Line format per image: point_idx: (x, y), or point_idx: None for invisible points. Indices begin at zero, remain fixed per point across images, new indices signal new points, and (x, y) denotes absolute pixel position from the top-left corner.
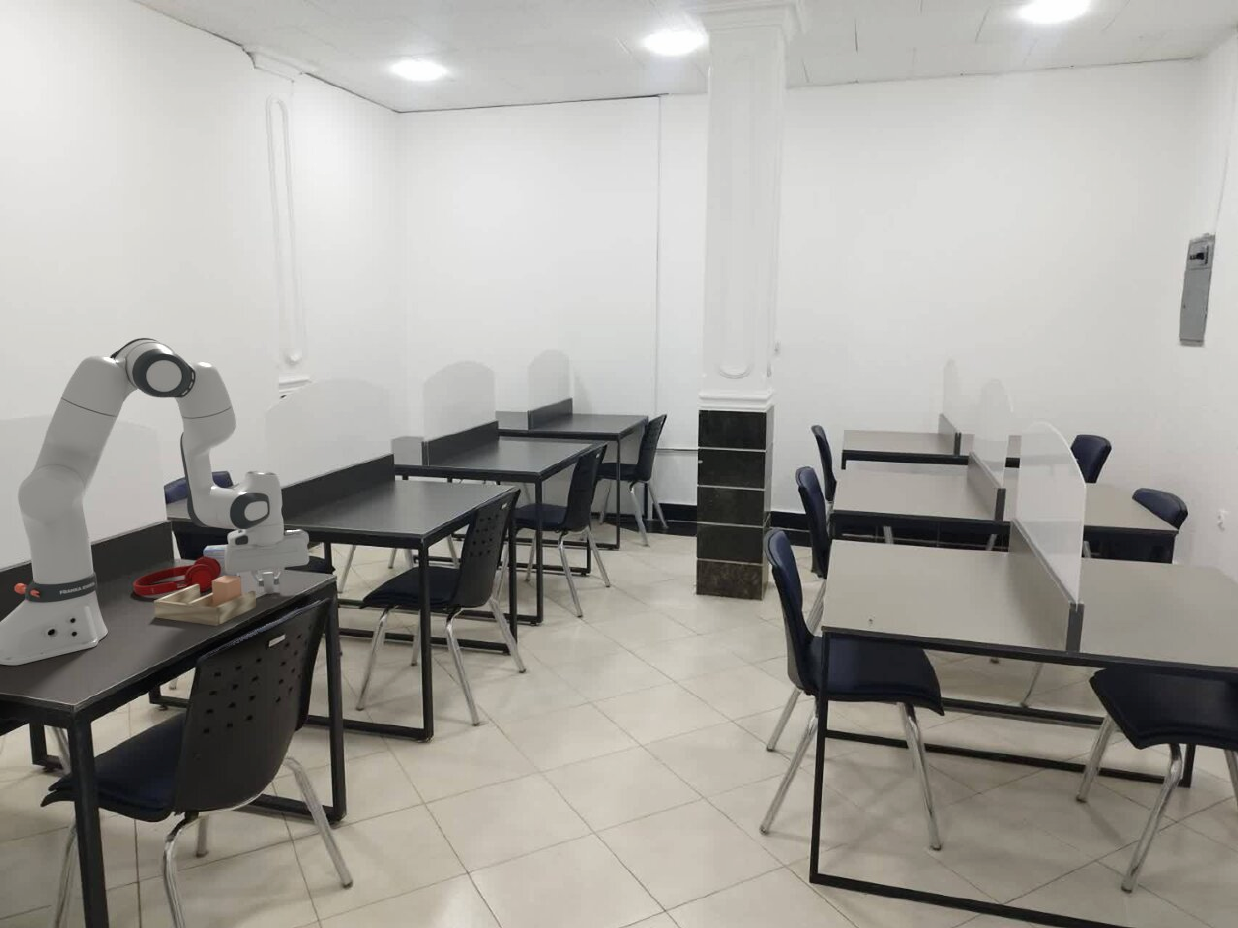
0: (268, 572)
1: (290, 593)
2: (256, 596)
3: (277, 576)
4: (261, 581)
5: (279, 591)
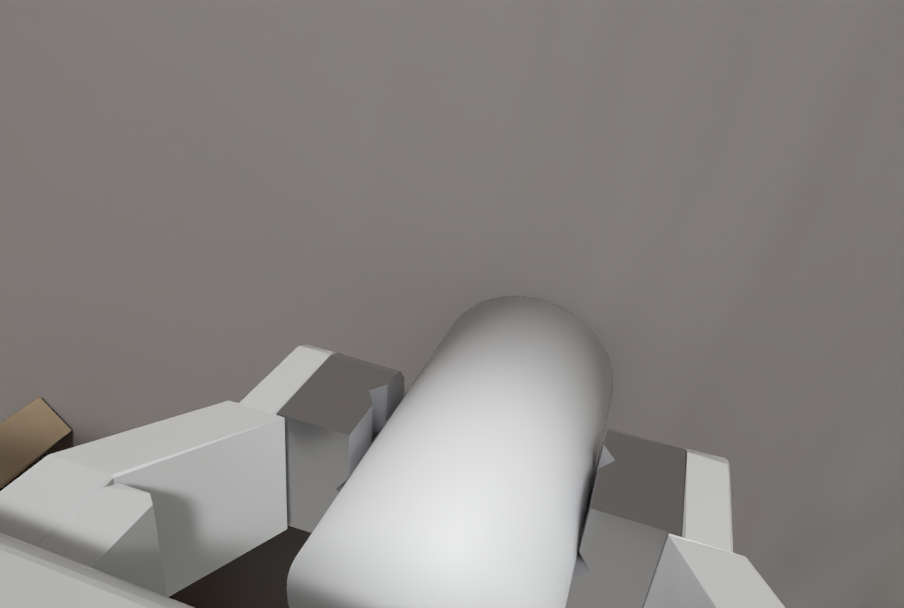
0: (441, 573)
1: None
2: None
3: (660, 583)
4: None
5: (675, 430)
